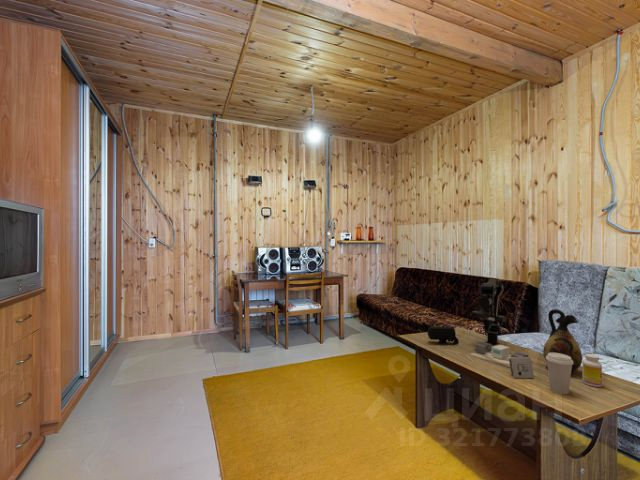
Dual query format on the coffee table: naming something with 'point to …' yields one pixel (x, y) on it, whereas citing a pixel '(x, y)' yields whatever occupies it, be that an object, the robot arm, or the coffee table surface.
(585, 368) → the supplement bottle
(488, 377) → the coffee table surface
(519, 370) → the electrical switch
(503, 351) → the module block
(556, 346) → the ceramic jug
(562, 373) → the coffee cup
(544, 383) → the coffee table surface
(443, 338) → the security camera
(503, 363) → the rail panel
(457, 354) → the coffee table surface
